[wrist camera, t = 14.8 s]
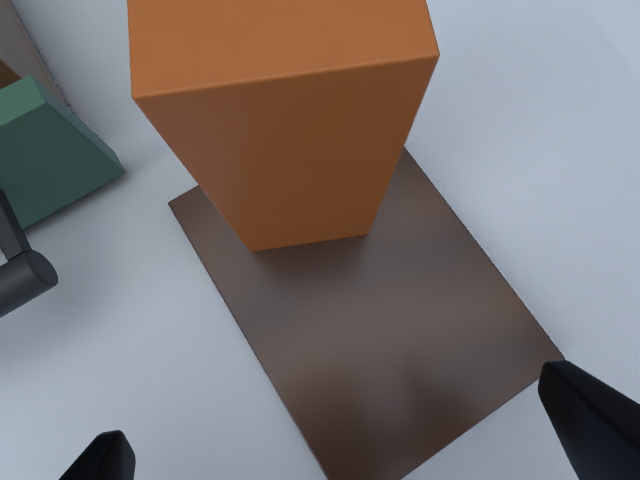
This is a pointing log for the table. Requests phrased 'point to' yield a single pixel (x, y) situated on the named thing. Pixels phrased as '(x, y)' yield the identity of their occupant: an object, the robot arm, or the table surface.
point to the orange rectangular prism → (284, 105)
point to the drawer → (37, 160)
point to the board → (377, 328)
